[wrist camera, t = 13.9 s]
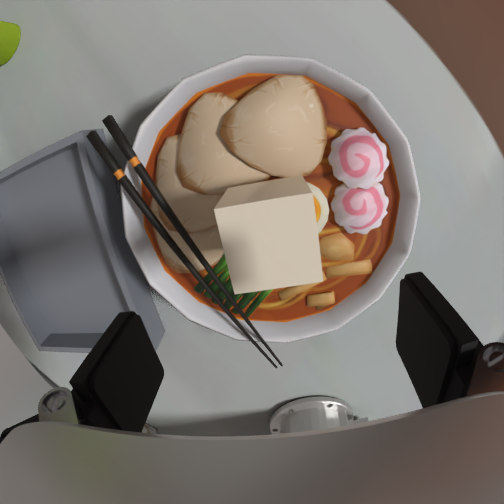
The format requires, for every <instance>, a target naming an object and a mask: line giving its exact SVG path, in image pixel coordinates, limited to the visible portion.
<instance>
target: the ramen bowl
mask: <svg viewBox="0 0 504 504" xmlns="http://www.w3.org/2000/svg"><path fill="white" fill-rule="evenodd" d="M102 121H103V123H104V124H105V126H106V128H107V129H108V131H109V132H110V134H111V135H112V137H113V138H114V140H115V141H116V143H117V144H118V146H119V147H120V149H121V151H122V152H123V154H124V155H125V157H126V158H127V162H126V165H125V168H124V171H122V169H121V167H120V166H119V164H118V163H117V161H116V160H115V158H114V157H113V156H112V154H111V153H110V151H109V150H108V148H107V147H106V145H105V144H104V142H103V141H102V139H101V138H100V136H99V135H98V133H97V132H96V130H94V131H91V132H90V133H89V134H88V135H87V136H86V137H87V138H88V140H89V141H90V143H91V144H92V145H93V147H94V148H95V150H96V151H97V152H98V154H99V155H100V157H101V158H102V159H103V161H104V162H105V164H106V165H107V166H108V168H109V169H110V170H111V172H112V173H113V174H114V175H115V176H116V177H117V179H118V181H119V183H120V186H121V199H122V211H123V221H124V231H125V238H126V240H127V242H128V244H129V246H130V248H131V250H132V252H133V254H134V256H135V258H136V260H137V262H138V264H139V266H140V268H141V270H142V272H143V274H144V276H145V278H146V280H147V282H148V283H149V285H150V286H151V287H152V288H153V289H154V290H155V291H156V292H157V293H159V294H160V295H161V296H162V297H163V298H164V299H165V300H166V301H167V302H169V303H170V304H171V305H172V306H173V307H174V308H175V309H176V310H178V311H179V312H180V313H181V314H182V315H183V316H184V317H186V318H187V319H188V320H190V321H192V322H194V323H196V324H199V325H201V326H203V327H206V328H208V329H210V330H213V331H215V332H218V333H220V334H222V335H225V336H227V337H230V338H232V339H235V340H242V341H251V342H252V343H253V344H254V345H255V346H256V347H257V348H258V349H259V351H260V352H261V353H262V354H263V355H264V356H265V357H266V358H267V359H268V360H269V361H270V362H271V363H272V364H273V366H274V367H275V368H277V366H276V365H275V364H274V363H273V361H272V360H271V359H270V358H269V357H268V356H267V354H266V353H265V352H264V351H263V350H262V349H261V348H260V346H259V345H258V344H257V343H256V342H255V341H258V342H262V343H263V344H264V345H265V347H266V348H267V349H268V350H269V352H270V353H271V354H272V355H273V357H274V358H275V359H276V360H277V361H278V363H279V364H280V365H281V366H283V365H282V363H281V362H280V361H279V359H278V358H277V357H276V355H275V354H274V353H273V351H272V350H271V349H270V347H269V346H268V345H267V343H266V342H278V343H289V342H293V341H297V340H301V339H305V338H308V337H312V336H316V335H319V334H323V333H326V332H330V331H333V330H337V329H339V328H340V327H341V326H343V325H344V324H346V323H347V322H349V321H350V320H351V319H353V318H354V317H356V316H357V315H358V314H360V313H361V312H363V311H364V310H365V309H367V308H368V307H369V306H371V305H372V304H374V303H375V302H376V301H378V300H379V299H380V298H381V297H382V295H383V294H384V292H385V291H386V289H387V288H388V287H389V285H390V284H391V282H392V281H393V279H394V278H395V276H396V275H397V273H398V272H399V270H400V269H401V267H402V266H403V264H404V263H405V261H406V260H407V258H408V257H409V255H410V252H411V248H412V243H413V239H414V234H415V229H416V224H417V218H418V213H419V207H420V201H421V197H420V192H419V186H418V181H417V176H416V171H415V166H414V161H413V157H412V153H411V148H410V144H409V141H408V139H407V138H406V136H405V135H404V133H403V132H402V131H401V129H400V128H399V126H398V125H397V124H396V122H395V121H394V120H393V118H392V117H391V116H390V114H389V113H388V112H387V110H386V109H385V108H384V106H383V105H382V104H381V103H380V101H379V100H378V99H377V98H376V96H375V95H374V94H373V93H372V91H371V90H369V89H368V88H366V87H364V86H363V85H361V84H359V83H358V82H356V81H354V80H352V79H351V78H349V77H347V76H345V75H344V74H342V73H340V72H338V71H336V70H334V69H333V68H331V67H329V66H327V65H325V64H323V63H321V62H319V61H317V60H315V59H313V58H305V57H293V56H277V55H242V56H239V57H236V58H233V59H231V60H228V61H225V62H223V63H220V64H217V65H215V66H212V67H210V68H207V69H205V70H202V71H200V72H197V73H195V74H193V75H190V76H188V77H186V78H183V79H182V80H181V81H180V82H179V83H178V84H177V85H176V86H175V87H174V88H173V89H172V90H171V91H170V92H169V93H168V94H167V95H166V96H165V97H164V99H163V100H162V101H161V102H160V103H159V104H158V105H157V106H156V107H155V108H154V109H153V110H152V112H151V113H150V114H149V115H148V116H147V117H146V118H145V120H144V121H143V122H142V123H141V124H140V126H139V128H138V131H137V133H136V136H135V139H134V142H133V144H132V147H131V145H130V144H129V142H128V140H127V139H126V137H125V136H124V134H123V132H122V131H121V129H120V128H119V126H118V124H117V123H116V121H115V119H114V118H113V116H112V115H108V116H107V117H106V118H105V119H104V120H102ZM301 175H302V176H303V178H304V180H305V181H306V183H307V184H308V186H309V188H310V189H311V191H312V192H313V198H314V206H315V213H316V221H317V229H318V237H319V245H320V254H321V264H322V273H323V282H317V283H311V284H304V285H298V286H291V287H284V288H277V289H270V290H263V291H256V292H249V293H241V294H234V290H233V286H232V282H231V278H230V274H229V270H228V266H227V262H226V258H225V254H224V250H223V246H222V241H221V237H220V233H219V229H218V225H217V221H216V216H215V212H214V208H215V207H216V205H217V204H218V202H219V201H220V199H221V198H222V196H223V195H224V193H225V192H226V190H227V189H228V188H230V187H236V186H241V185H246V184H252V183H258V182H264V181H269V180H275V179H282V178H288V177H294V176H301Z"/></svg>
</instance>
